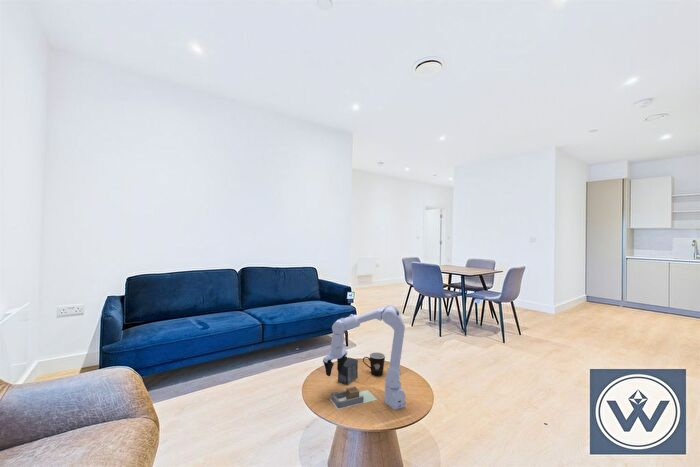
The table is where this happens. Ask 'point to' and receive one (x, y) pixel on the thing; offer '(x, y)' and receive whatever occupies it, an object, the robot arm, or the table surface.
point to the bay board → (343, 402)
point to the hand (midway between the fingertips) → (333, 373)
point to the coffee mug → (376, 363)
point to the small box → (348, 371)
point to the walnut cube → (352, 392)
